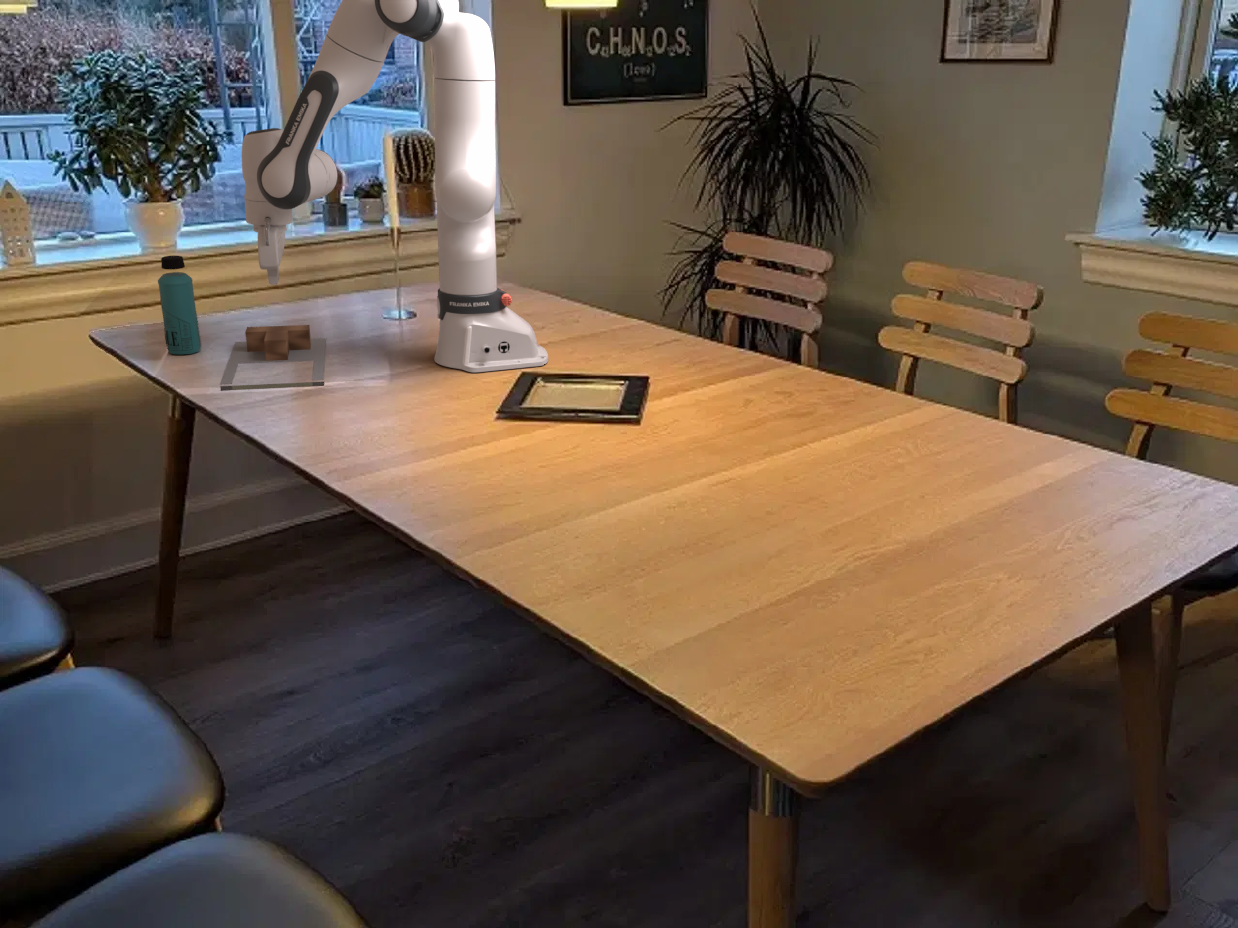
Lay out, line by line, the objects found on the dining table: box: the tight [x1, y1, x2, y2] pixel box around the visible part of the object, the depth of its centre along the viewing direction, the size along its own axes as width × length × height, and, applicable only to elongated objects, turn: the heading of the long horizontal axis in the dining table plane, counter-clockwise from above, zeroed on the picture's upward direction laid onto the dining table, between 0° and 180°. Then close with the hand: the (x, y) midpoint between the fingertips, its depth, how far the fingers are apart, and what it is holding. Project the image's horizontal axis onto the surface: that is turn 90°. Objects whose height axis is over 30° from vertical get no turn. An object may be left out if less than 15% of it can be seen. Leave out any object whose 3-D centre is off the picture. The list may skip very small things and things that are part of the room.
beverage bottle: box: [157, 255, 202, 355], centre depth 215 cm, size 6×7×20 cm
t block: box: [245, 324, 312, 361], centre depth 218 cm, size 12×11×4 cm
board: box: [219, 338, 327, 392], centre depth 215 cm, size 18×29×1 cm, turn 13°
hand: (274, 283), depth 224 cm, fingers closed
